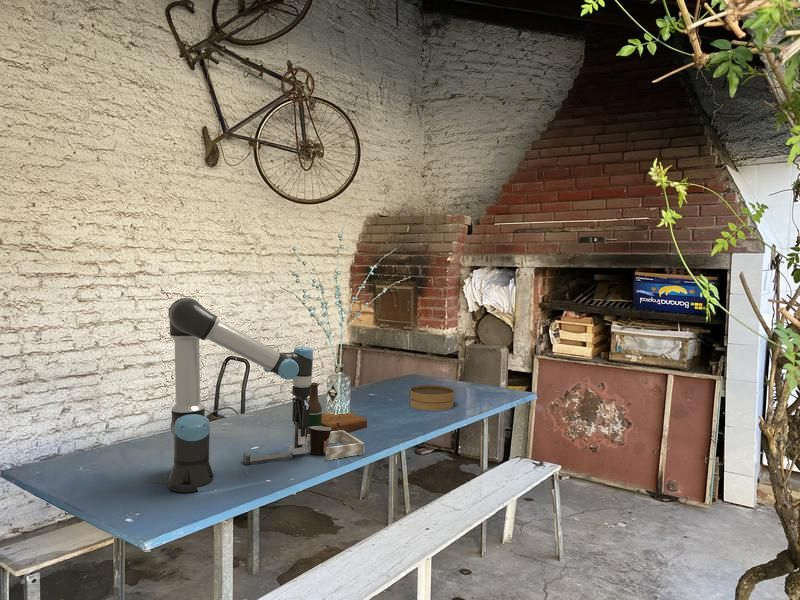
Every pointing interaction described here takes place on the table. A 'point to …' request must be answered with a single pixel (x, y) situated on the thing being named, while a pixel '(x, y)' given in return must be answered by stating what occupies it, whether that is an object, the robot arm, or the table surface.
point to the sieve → (431, 397)
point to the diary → (343, 422)
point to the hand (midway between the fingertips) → (299, 442)
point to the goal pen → (349, 449)
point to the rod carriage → (301, 448)
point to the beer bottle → (314, 409)
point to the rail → (265, 458)
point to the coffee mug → (318, 438)
